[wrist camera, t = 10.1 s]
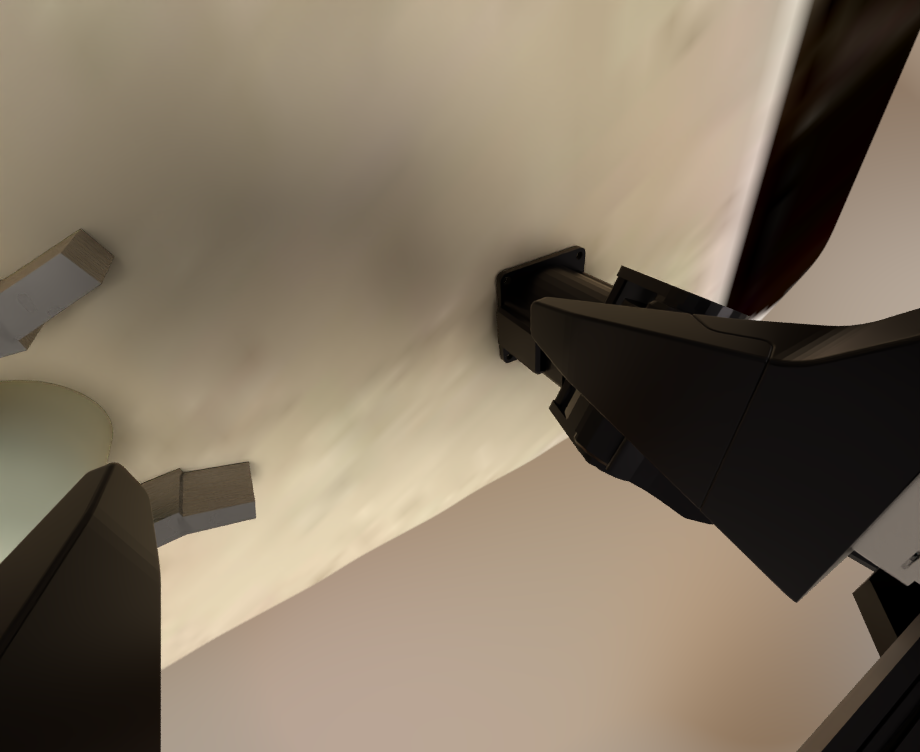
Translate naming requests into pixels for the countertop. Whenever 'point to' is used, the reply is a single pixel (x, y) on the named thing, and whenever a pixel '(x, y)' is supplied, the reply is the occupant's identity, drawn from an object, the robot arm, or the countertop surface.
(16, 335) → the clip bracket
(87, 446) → the grey rounded piece
